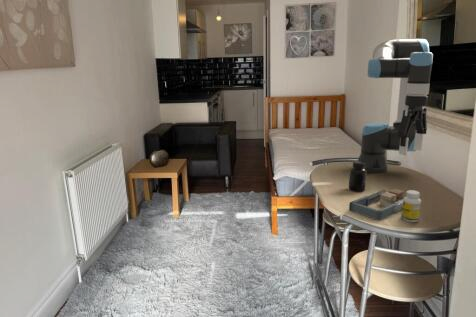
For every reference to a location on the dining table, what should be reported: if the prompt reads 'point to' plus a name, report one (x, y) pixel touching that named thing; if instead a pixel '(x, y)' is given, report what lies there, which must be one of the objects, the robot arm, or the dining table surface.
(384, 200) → the beige cube
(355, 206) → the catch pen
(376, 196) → the slot rails
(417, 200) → the supplement bottle
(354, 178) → the supplement bottle
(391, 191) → the brown cube
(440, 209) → the dining table surface
